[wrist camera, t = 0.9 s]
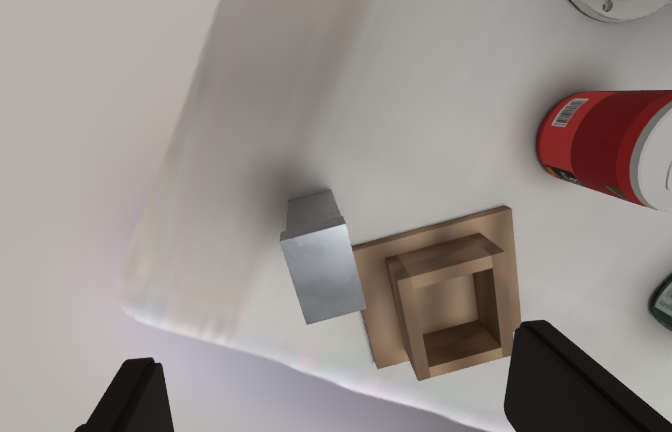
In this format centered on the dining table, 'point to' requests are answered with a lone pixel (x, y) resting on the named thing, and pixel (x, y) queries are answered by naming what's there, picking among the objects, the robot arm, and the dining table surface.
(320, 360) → the dining table surface
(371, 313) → the well block
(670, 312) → the coffee jar
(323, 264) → the grey boxy piece
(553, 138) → the canned food
